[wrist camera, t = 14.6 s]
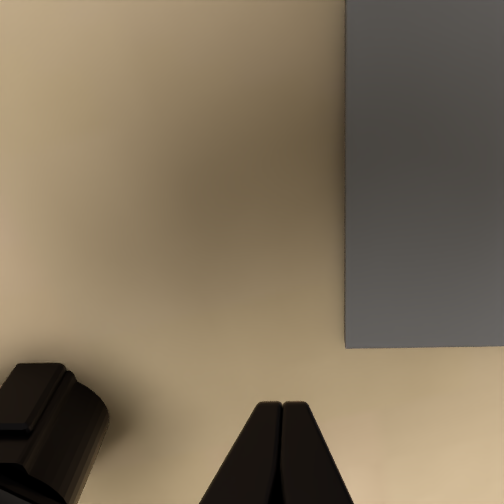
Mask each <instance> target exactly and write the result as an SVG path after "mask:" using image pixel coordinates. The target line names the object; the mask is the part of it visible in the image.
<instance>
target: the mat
mask: <svg viewBox="0 0 504 504" xmlns="http://www.w3.org/2000/svg"><path fill="white" fill-rule="evenodd" d="M485 346H504V0H345V348H346V349H352V348H418V347H485Z"/></svg>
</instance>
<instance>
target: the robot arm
mask: <svg viewBox="0 0 504 504" xmlns="http://www.w3.org/2000/svg"><path fill="white" fill-rule="evenodd" d="M108 425H109V413H108V410H107V408H106V406H105V404H104V402H103V401H102V400H101V398H100V397H99V396H98V395H96V394H95V393H94V392H93V391H92V390H90V389H89V388H88V387H86V386H84V385H82V384H81V383H79V382H77V380H76V378H75V375H74V374H73V373H72V372H71V371H66V369H65V367H64V365H62V364H18V365H16V367H15V368H14V369H13V371H12V372H11V374H10V375H9V376H8V378H7V379H6V381H5V382H4V384H3V385H2V386H1V388H0V504H77V503H78V501H79V498H80V496H81V493H82V491H83V488H84V486H85V484H86V481H87V479H88V476H89V474H90V471H91V469H92V466H93V464H94V461H95V459H96V456H97V454H98V452H99V449H100V447H101V443H102V440H103V438H104V435H105V433H106V430H107V428H108ZM199 504H354V503H353V501H352V498H351V496H350V494H349V492H348V490H347V488H346V485H345V483H344V481H343V479H342V477H341V475H340V472H339V470H338V468H337V466H336V464H335V461H334V459H333V457H332V455H331V453H330V451H329V448H328V446H327V444H326V442H325V440H324V438H323V435H322V433H321V431H320V429H319V427H318V425H317V422H316V420H315V418H314V416H313V414H312V412H311V409H310V407H309V405H308V404H307V403H306V402H304V401H287V402H285V403H284V404H283V405H282V403H281V402H278V401H262V402H259V403H258V404H257V405H256V407H255V408H254V410H253V412H252V413H251V415H250V417H249V419H248V420H247V422H246V424H245V426H244V427H243V429H242V431H241V432H240V434H239V436H238V438H237V439H236V441H235V443H234V444H233V446H232V448H231V450H230V451H229V453H228V455H227V456H226V458H225V460H224V462H223V463H222V465H221V467H220V468H219V470H218V472H217V474H216V475H215V477H214V479H213V480H212V482H211V484H210V486H209V487H208V489H207V491H206V492H205V494H204V496H203V498H202V499H201V501H200V503H199Z"/></svg>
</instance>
